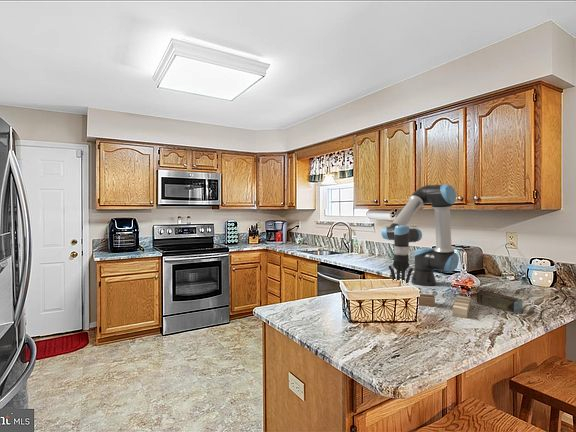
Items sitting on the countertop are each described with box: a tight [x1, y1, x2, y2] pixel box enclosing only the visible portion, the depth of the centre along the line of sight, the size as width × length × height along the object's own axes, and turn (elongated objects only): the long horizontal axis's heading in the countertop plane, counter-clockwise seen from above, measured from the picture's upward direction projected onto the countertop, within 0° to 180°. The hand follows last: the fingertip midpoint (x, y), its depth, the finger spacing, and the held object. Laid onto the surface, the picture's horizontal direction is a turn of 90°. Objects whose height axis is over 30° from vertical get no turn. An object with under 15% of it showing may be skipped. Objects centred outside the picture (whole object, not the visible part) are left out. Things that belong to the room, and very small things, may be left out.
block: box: [418, 293, 436, 307], centre depth 176 cm, size 7×10×4 cm
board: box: [451, 295, 472, 319], centre depth 166 cm, size 24×6×4 cm, turn 148°
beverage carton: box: [476, 290, 524, 314], centre depth 172 cm, size 8×19×7 cm, turn 29°
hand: (400, 297), depth 183 cm, fingers closed
